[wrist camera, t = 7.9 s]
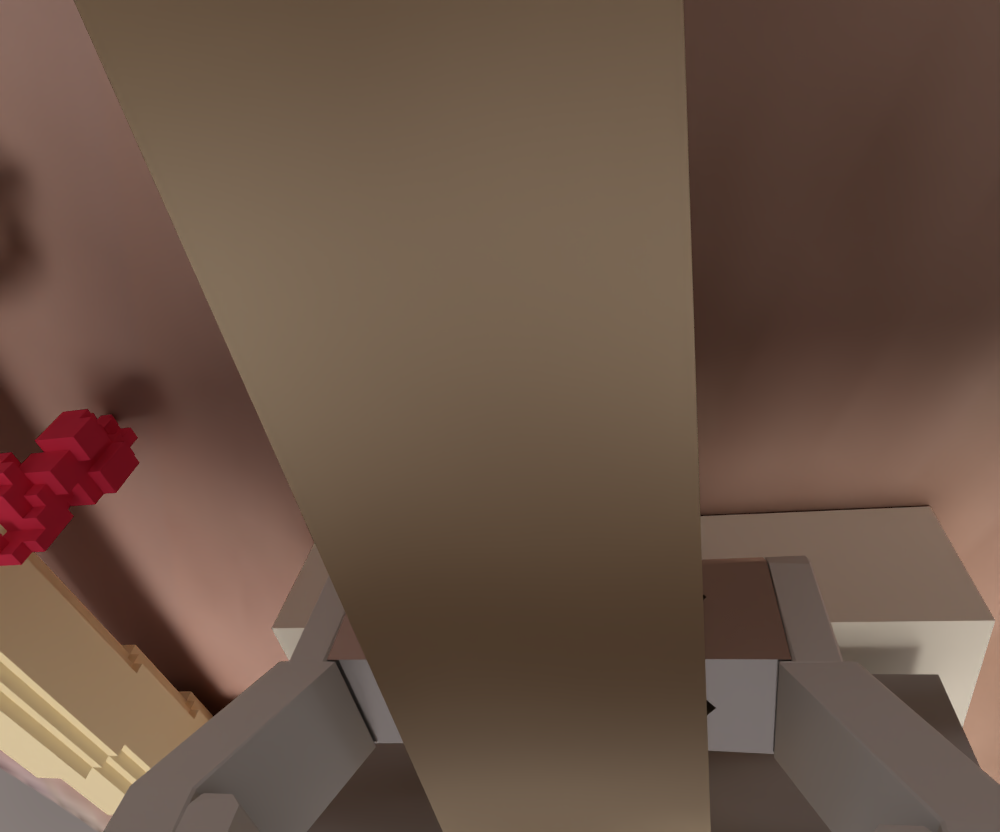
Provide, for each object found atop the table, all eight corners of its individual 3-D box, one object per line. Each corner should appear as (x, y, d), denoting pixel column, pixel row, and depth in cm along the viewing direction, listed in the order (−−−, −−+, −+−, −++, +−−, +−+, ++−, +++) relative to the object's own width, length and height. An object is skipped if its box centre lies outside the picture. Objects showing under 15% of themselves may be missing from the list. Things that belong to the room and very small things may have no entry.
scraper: (-17, 40, 8) (-437, 99, 5) (1171, -240, 6) (1942, -504, 2) (333, 714, 15) (257, 921, 12) (925, 724, 13) (1033, 991, 10)
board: (319, 532, 17) (271, 628, 15) (929, 506, 14) (995, 620, 12) (416, 754, 23) (392, 851, 20) (876, 768, 20) (914, 885, 17)
